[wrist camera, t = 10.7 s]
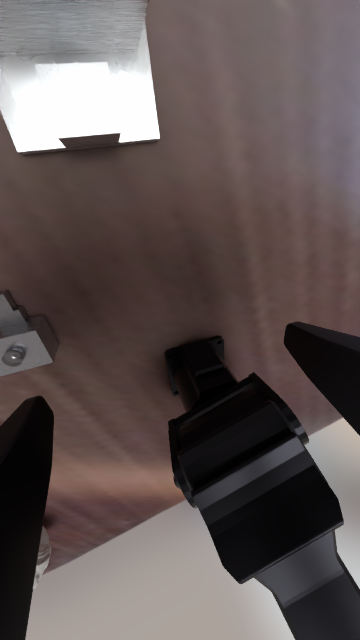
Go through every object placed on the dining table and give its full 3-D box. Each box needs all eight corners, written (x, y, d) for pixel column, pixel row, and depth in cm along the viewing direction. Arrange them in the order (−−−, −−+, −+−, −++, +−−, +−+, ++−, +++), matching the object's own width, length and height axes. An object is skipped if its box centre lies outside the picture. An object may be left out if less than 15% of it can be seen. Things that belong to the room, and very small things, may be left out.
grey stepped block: (59, 343, 19) (51, 367, 17) (8, 356, 18) (-8, 383, 16) (29, 285, 16) (14, 303, 14) (-33, 297, 16) (-60, 318, 13)
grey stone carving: (66, 510, 32) (57, 581, 26) (39, 536, 33) (25, 609, 27) (21, 507, 28) (0, 588, 23) (-6, 536, 30) (-34, 619, 24)
